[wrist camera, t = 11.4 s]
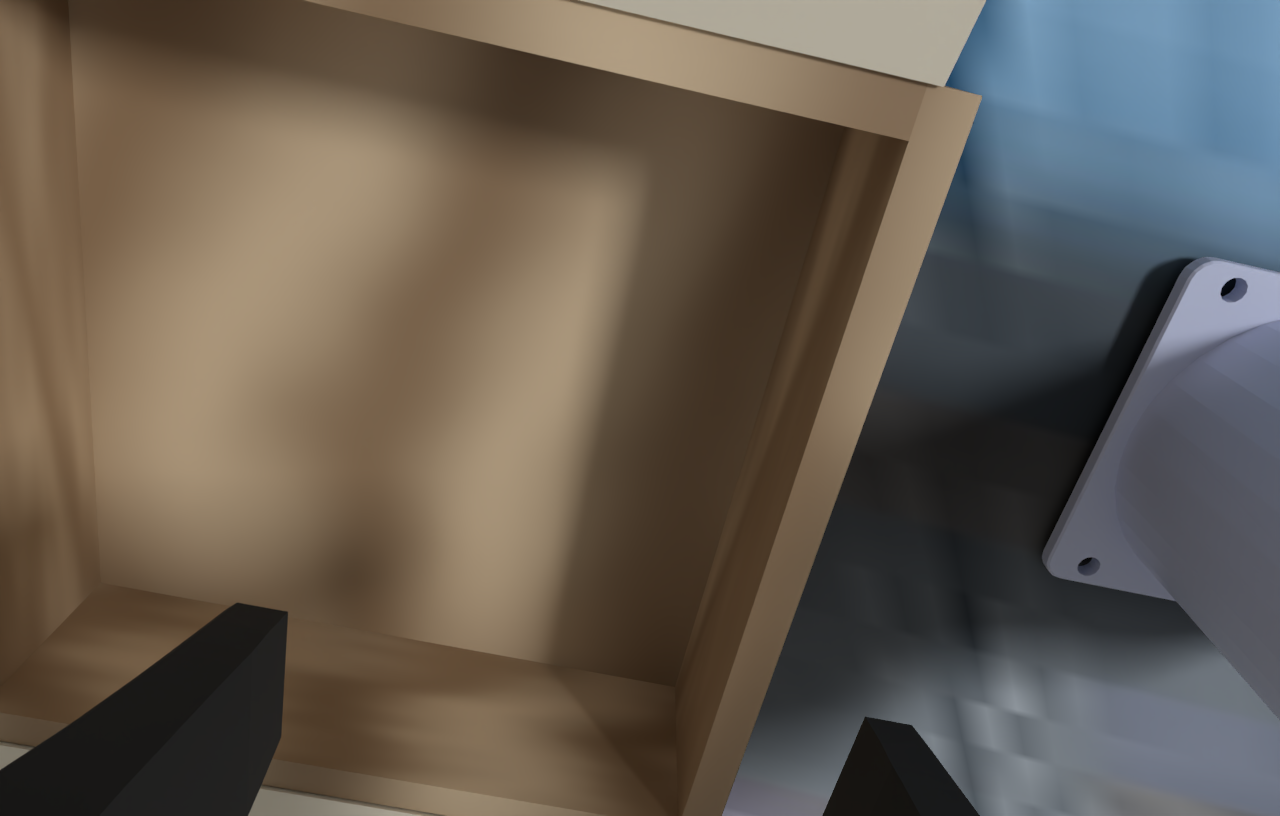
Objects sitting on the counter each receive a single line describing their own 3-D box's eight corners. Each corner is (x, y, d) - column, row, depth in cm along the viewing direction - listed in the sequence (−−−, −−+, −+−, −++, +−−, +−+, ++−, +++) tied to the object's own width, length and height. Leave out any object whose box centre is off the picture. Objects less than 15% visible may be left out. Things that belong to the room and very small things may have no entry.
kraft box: (894, 71, 17) (982, 96, 12) (696, 693, 23) (705, 858, 19) (43, -132, 16) (-210, -187, 11) (88, 583, 22) (-58, 731, 18)
